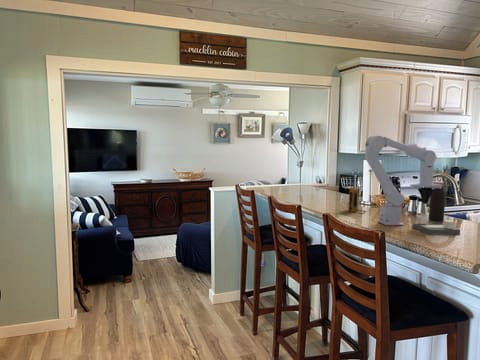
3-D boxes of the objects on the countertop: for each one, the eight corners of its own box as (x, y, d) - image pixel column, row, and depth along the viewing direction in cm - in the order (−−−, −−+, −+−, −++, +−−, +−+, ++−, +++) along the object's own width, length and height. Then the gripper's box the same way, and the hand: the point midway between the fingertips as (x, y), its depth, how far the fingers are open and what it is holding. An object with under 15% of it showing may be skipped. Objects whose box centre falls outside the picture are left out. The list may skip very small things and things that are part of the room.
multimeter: (372, 214, 202) (374, 177, 200) (354, 213, 202) (355, 177, 200) (363, 209, 216) (365, 175, 214) (346, 208, 216) (348, 175, 214)
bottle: (445, 222, 183) (448, 182, 181) (430, 222, 184) (433, 182, 182) (440, 220, 189) (443, 181, 187) (426, 219, 191) (429, 181, 189)
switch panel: (429, 234, 159) (429, 229, 159) (412, 227, 172) (413, 222, 171) (459, 234, 160) (460, 229, 160) (441, 227, 173) (441, 222, 173)
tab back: (420, 223, 168) (421, 217, 168) (417, 222, 171) (417, 216, 171) (426, 223, 168) (427, 217, 168) (423, 222, 171) (423, 216, 171)
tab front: (447, 228, 160) (448, 221, 159) (443, 226, 163) (443, 220, 162) (454, 228, 160) (454, 221, 160) (449, 226, 163) (450, 220, 163)
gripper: (416, 176, 171) (415, 205, 172) (446, 175, 172) (444, 204, 173) (408, 174, 178) (407, 202, 179) (437, 174, 179) (435, 202, 180)
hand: (425, 203), depth 177 cm, fingers closed
